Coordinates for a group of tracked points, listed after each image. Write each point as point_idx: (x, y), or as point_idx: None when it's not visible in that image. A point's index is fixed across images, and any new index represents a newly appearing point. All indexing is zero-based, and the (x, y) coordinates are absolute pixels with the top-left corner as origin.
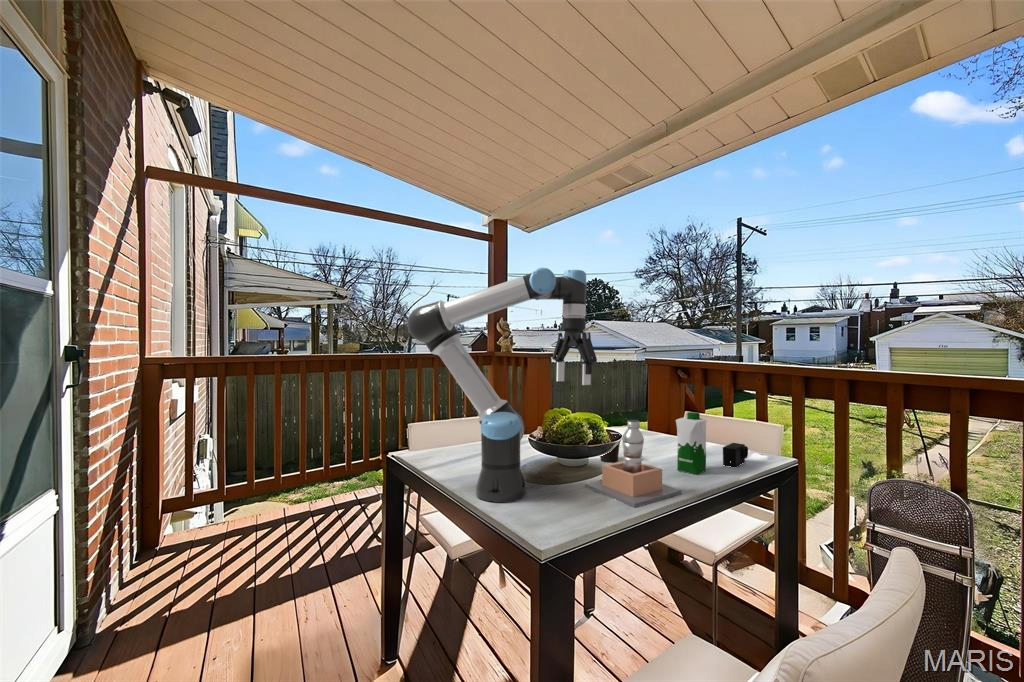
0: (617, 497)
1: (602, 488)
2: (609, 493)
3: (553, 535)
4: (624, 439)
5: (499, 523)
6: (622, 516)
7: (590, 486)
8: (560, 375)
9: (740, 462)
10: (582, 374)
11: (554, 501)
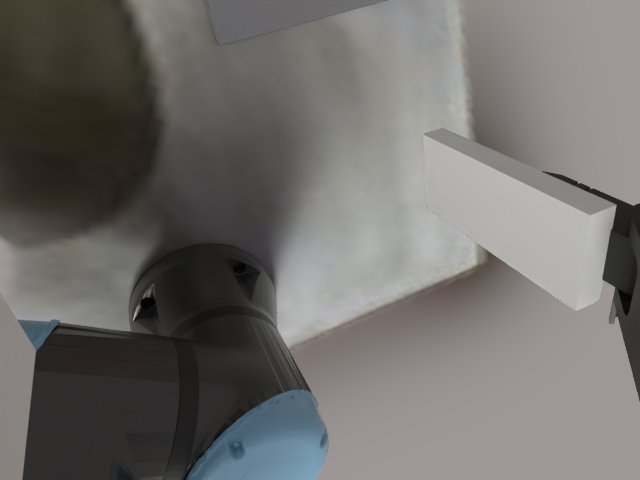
0: (366, 5)
1: (284, 7)
2: (333, 12)
3: (448, 235)
4: None
5: (366, 315)
6: (447, 59)
7: (248, 37)
8: (12, 369)
9: None
10: (489, 250)
11: (302, 186)
